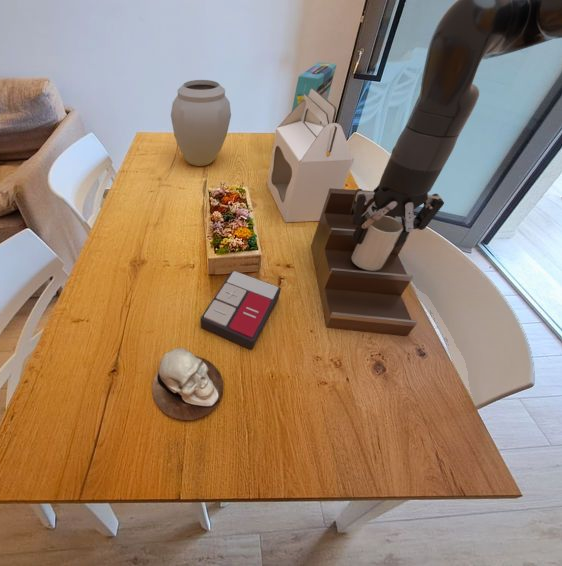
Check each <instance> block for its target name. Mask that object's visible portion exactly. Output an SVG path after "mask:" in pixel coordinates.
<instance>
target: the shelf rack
mask: <svg viewBox="0 0 562 566" xmlns="http://www.w3.org/2000/svg"><path fill="white" fill-rule="evenodd" d="M356 190H357V189H347V188H346V189H345V188H343V189H333V188H330V189H329V192H328V195H327V198H326V201H325V204H324V207H323V210H322V213H321V216H320V220H319V221H318V223H317V226H316V229H315V232H314V235H313V239H312V241H311V245H310V248H311V255H312V259H313V265H314V269H315V274H316V275H315V276H316V280H317V285H318V291H319V297H320V302H321V307H322V312H323V317H324V323H325V327H326V328H327V329H337V330H345V331H346V330H347V331H354V332H355V331H356V332H364V333H375V334H384V335H391V336H392V335H393V336H402V337H408V336H409V335H410V333H411V332H412V331H413V329H414V328H415V327H416V326H417V324H418V320H416V319H415V320H413V319H412V317H411V315H410V312H409V310H408V308H407V306H406V304H405V301H404V298H403V297H402V295H403V294H404V292H405V290H406V289H407V288H408V286H409V285H410V283H411V282H412V280H413V279H414V275H413V274H408V273H407V271H406V269H405V266H404V265H403V263H402V260H401V258H400V256H399V254H400V252H401V251H402V249H403V247H404V246H405V243H406V242H407V240H408V239H409V237H410V233H409V234H408V236H407V238H406V240H405V241H404V243H403V244H402V245H399V247H393V249H392V251H391V253H390V255H389V257H388V258H387V260H386V262H385V264H384V265H383V267H382V268H381V269H379V270H376V271H369V270H365V269H362V268H360V267H358V266H357V265H355V264H354V263H353V261H352V259H351V256H352V254H353V251H354V249H355V247H356V244H357V243H356V241H355V239H354V236H353V234H354V232H355V229H356V227H357V225H353V223H352V220H351V218H350V213H351V209H352V204H353V200H354V196H355V192H356ZM362 190H363V192H366V191H367V190H366V189H365V190H364V189H362ZM373 202H374V199H370V200H369V202H368V203H367V205H364V208H363V212H362V215H363V214H364V213H365V212H366V211H367V208H368V207H369V206H370V205H371V204H372V203H373ZM377 211H378V209H377V210H376V212H377ZM390 217H392V218H395V219H396V217H397V216H393V215H391V216H390Z"/></svg>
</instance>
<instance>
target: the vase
mask: <svg viewBox="0 0 562 566" xmlns="http://www.w3.org/2000/svg"><path fill="white" fill-rule="evenodd" d="M176 92H177V96H176V97H174V99H173V100H172V105H171V111H170V119H171V120H170V121H171V125H172V130H173V131H172V132H173V136H174V138H175V141H176V143H177V146H178V149H179V152H180V153H181V154H182V156H183V158H184V159H185V160H186V161H187V163H189V164H190V165H192V166H194V167H205V166H208V165H210V164H212V163H213V162H214V160H215V159H216V158H217V157H218V155H219V153H220V152H221V150H222V148H223V145H224V143H225V141H226V138H227V136H228V135H227V134H228V131H229V126H230V121H231V117H232V113H231V103H230V100H229V99H228V98H227V96H226V89H225V88H224V87H223V86H222V85H221V84H220V83H219V82H218V81H215V80H210V79H194V80H188V81H186V82H184V83H183V84H182V85H180V87H179V88H177V91H176Z"/></svg>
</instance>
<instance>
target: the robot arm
mask: <svg viewBox="0 0 562 566" xmlns="http://www.w3.org/2000/svg"><path fill="white" fill-rule="evenodd" d="M555 39H562V0H456V1H455V2H453V4H452V5H451V6H450V7H449V8H448V9H447V11H446V12H445V13H444V14H443V16H442V17H441V19H440V20H439V22H438V24H437V25H436V27H435V29H434V31H433V33H432V36H431V39H430V42H429V44H428V48H427V52H426V56H425V62H424V68H423V72H422V77H421V83H420V91H419V95H418V98H417V99H416V100H415V101H416V102H415V104H414V106H413V108H412V111H411V113H410V115H409V118H408V120H407V122H406V124H405V126H404V128H403V130H402V132H401V133H400V135H399V137H398V139H397V141H396V142H395V145H394V146H393V148H392V149H391V150H392V151H391V154H390V156H389V158H388V161H387V164H386V166H385V168H384V171H383V173H382V175H381V177H380V181H379V183H378V185H377V186H376V187H375V188H374V189H373V190H365V191H366V192H363V190H364V189H362V188H358V189H355V190H356V192H355V196H354V200H353V204H352V209H351V213H350V218H351V220H352V223H353V225H357V227H356V229H355V232H354V234H353V236H354V239H355V241H356V243H357V244H362V242H363V239H364V237H365V235H366V233H367V231H368V227H369V226H370V225H371V224H372V223H373V222H374V221H378V220H379V219H380V218H382V217H383V216H391V215H393V216H396V217H397V218H401V223H402V225H403V231H402V233H401V235H400V236H399V238H398V240H397V242H396V244H395V246H394V247H399V245H402V244H403V243H404V241H405V240H406V238H407V236H408V234H409V235H410V233H411V232H413V231H414V230H419V231H422V230H425V229H426V228H427V227H428V225H429V224H430V223H431V222H432V220H433V219H434V217H435V216H436V215H437V213H439V211H441V208H442V207H443V206H444V205H445V201H444V200H443V199H442V197H441V196H440V195H439V193H433V194H429V192H431V191H432V188H433V187H434V185H435V183H436V181H437V180H438V178H439V176H440V175H441V172H442V170H443V169H444V167H445V165H446V163H447V162H448V160H449V158H450V157H451V155H452V152H453V151H454V149H455V147H456V144H457V141H458V139H459V136H460V134H461V133H462V131H463V129H464V128H465V125H466V124H467V122H468V120H469V118H470V117H471V115H472V113H473V111H474V109H475V107H476V105H477V102H478V100H479V97H480V89H479V88H478V86H477V85H475V84H474V80H475V77H476V74H477V72H478V69H479V66H480V65H481V62H482V60H487V59H492V58H496V57H501V56H504V55H509V54H511V53H515V52H517V51H521V50H524V49H528V48H530V47H533V46H537V45H540V44H543V43H546V42H548V41H551V40H555ZM370 199H374V202H373V203H372V204H371V205H370V206H369V207H368V208H367V211H366V212H365V213H364V214H363V215H362V212H363V208H364V205H367V203H368V202H369V200H370ZM422 205H423V206H422ZM420 206H422V207H421V209H420V210H419V211H418V213H417V214H416V216H415V215H414V210H416V209H418V208H419V207H420ZM377 209H378V211H377V212H376V210H377ZM406 241H407V240H406Z"/></svg>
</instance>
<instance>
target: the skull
mask: <svg viewBox="0 0 562 566" xmlns="http://www.w3.org/2000/svg"><path fill="white" fill-rule="evenodd" d="M151 387H152V390H151V391H152V397H153V400H154V402H155V404H156V406H157V407H158V408H159V410H160V411H161V412H163V413H164V414H165V415H167V416H169V417H171V418H172V419H176V420H179V421H192V420H193V421H194V420H198V419H201V418H203V417H205V416H207V415H209V414H210V413H211V412H213V411H214V410H215V409H216V407H218V405H219V404H220V402H221V400H222V398H223V397H222V396H223V393H224V380H223V376H222V374H221V373H220V370H219V369H218V368H217V366H216V365H214V364H213V362H211V361H209V360H208V359H206V358H204V357H200V356H197V355H195V354H194V353H192V352H191V351H189V350H187V349H186V348H180V347H179V348H174V349H172V350H170V351H168V352H166V353H164V354H163V356H162V358H161V360H160V362H159V365H158V371H157V372H156V373H155V375H154V378H153V381H152V386H151Z"/></svg>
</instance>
